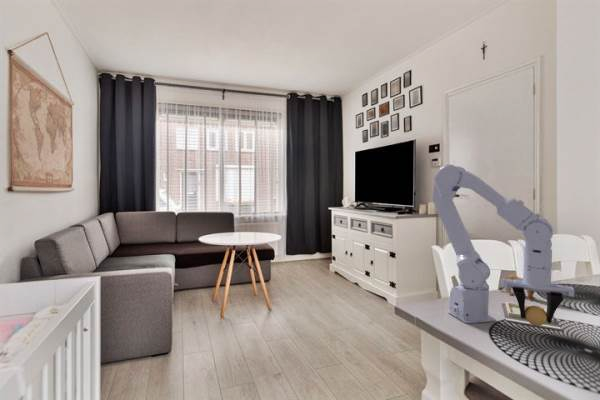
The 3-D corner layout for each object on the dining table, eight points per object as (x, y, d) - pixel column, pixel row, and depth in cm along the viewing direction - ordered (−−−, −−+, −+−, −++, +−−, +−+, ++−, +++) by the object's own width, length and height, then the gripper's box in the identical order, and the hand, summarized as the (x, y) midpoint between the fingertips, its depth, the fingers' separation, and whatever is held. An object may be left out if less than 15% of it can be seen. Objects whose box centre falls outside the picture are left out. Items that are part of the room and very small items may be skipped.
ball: (535, 329, 78) (536, 310, 78) (519, 321, 83) (519, 303, 83) (552, 328, 79) (552, 309, 79) (534, 320, 84) (535, 302, 84)
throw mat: (561, 331, 81) (561, 326, 81) (506, 321, 87) (506, 316, 87) (548, 311, 95) (549, 306, 95) (501, 304, 101) (501, 300, 101)
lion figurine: (550, 301, 104) (551, 274, 104) (544, 304, 101) (545, 276, 101) (501, 289, 116) (502, 265, 116) (494, 292, 113) (495, 267, 113)
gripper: (569, 266, 80) (567, 319, 81) (502, 260, 87) (500, 308, 88) (577, 272, 74) (575, 330, 75) (504, 265, 81) (502, 317, 82)
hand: (535, 319), depth 81 cm, fingers closed on ball, 5 cm apart
